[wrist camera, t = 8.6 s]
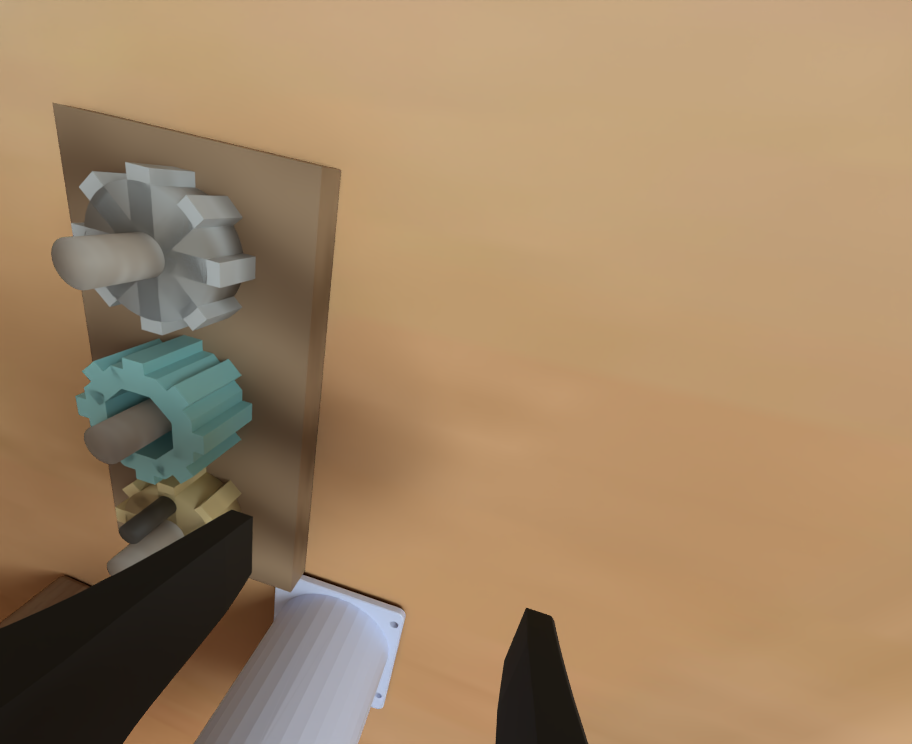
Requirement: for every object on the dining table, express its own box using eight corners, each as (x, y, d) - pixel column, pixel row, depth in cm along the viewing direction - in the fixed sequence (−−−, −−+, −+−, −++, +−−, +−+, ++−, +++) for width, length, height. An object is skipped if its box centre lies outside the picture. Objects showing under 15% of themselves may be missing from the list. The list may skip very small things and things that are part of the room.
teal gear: (251, 462, 21) (206, 501, 18) (146, 428, 21) (87, 462, 18) (253, 354, 18) (201, 381, 16) (135, 320, 19) (65, 340, 16)
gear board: (304, 571, 25) (236, 674, 20) (141, 515, 26) (34, 597, 21) (341, 169, 16) (235, 152, 11) (91, 110, 17) (-120, 67, 12)
